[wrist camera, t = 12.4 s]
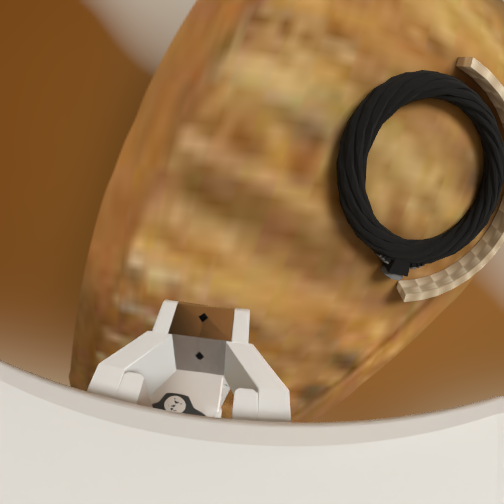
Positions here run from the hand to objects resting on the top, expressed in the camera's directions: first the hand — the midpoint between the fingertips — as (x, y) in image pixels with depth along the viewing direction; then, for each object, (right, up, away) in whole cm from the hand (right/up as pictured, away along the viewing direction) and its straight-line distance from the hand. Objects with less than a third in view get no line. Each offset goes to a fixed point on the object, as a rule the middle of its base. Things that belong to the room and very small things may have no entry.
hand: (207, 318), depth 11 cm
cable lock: (+25, +13, +26) cm, 38 cm away
